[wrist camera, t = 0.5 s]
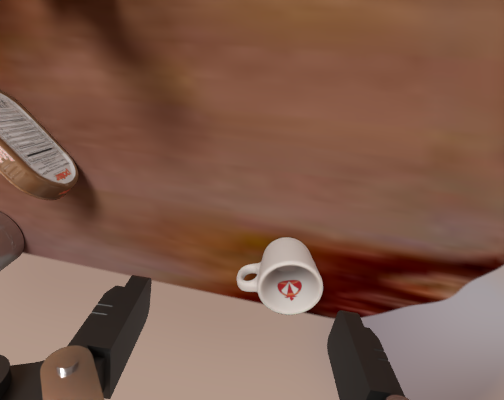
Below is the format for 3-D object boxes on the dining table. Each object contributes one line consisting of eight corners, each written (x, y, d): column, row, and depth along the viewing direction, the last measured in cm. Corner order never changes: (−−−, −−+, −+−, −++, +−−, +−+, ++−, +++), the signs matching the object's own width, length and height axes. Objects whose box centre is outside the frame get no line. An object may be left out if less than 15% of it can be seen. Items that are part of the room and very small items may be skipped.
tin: (-15, 92, 37) (-89, 97, 29) (0, 75, 36) (-71, 76, 28) (78, 187, 41) (36, 213, 34) (94, 174, 41) (54, 198, 33)
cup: (244, 281, 46) (240, 320, 39) (234, 235, 43) (228, 269, 36) (315, 273, 45) (325, 312, 38) (311, 226, 42) (321, 258, 35)
